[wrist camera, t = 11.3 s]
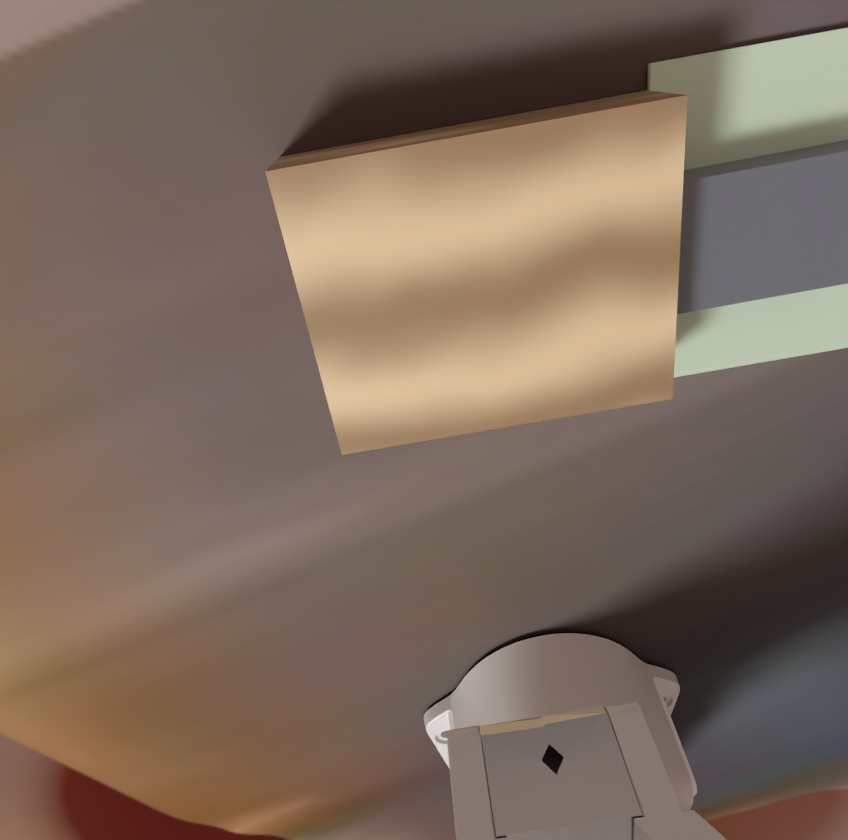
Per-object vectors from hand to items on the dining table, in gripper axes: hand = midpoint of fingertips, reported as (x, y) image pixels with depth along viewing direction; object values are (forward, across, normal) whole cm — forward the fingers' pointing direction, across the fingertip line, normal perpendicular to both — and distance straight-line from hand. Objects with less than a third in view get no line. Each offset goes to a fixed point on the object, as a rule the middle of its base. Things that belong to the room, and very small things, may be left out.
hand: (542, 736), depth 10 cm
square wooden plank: (+24, -2, 0) cm, 24 cm away
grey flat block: (+23, -15, 0) cm, 28 cm away
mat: (+24, -17, 0) cm, 29 cm away
